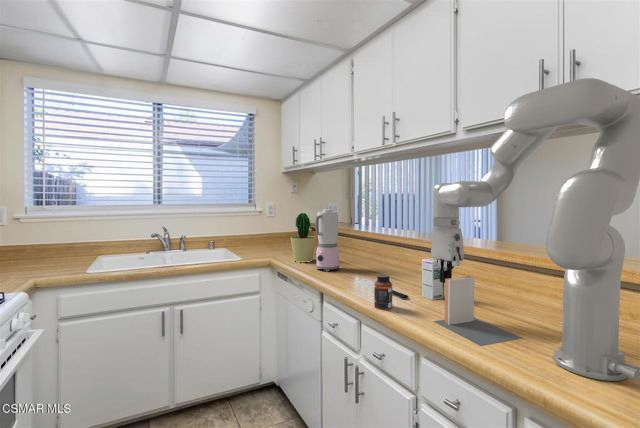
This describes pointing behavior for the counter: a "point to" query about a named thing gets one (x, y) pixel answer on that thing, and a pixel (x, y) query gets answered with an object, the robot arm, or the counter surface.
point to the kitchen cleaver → (370, 285)
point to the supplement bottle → (383, 293)
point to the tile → (459, 300)
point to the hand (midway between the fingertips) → (445, 282)
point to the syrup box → (431, 280)
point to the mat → (480, 332)
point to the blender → (327, 240)
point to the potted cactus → (303, 240)
